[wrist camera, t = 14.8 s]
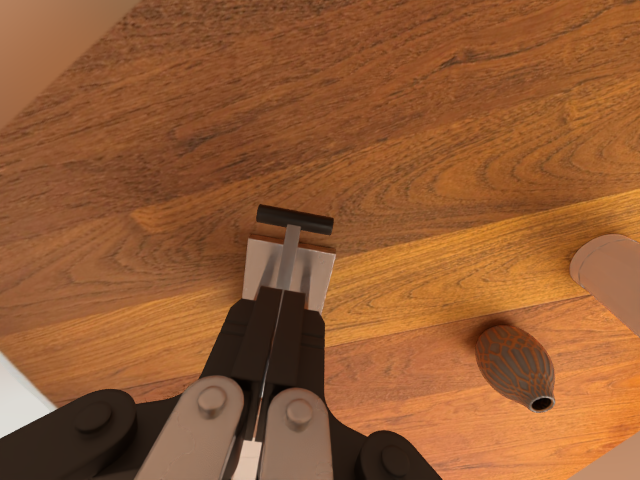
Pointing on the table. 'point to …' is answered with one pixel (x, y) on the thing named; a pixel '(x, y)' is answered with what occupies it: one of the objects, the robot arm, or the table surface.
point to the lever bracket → (307, 272)
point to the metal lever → (291, 237)
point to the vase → (517, 367)
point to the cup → (611, 275)
